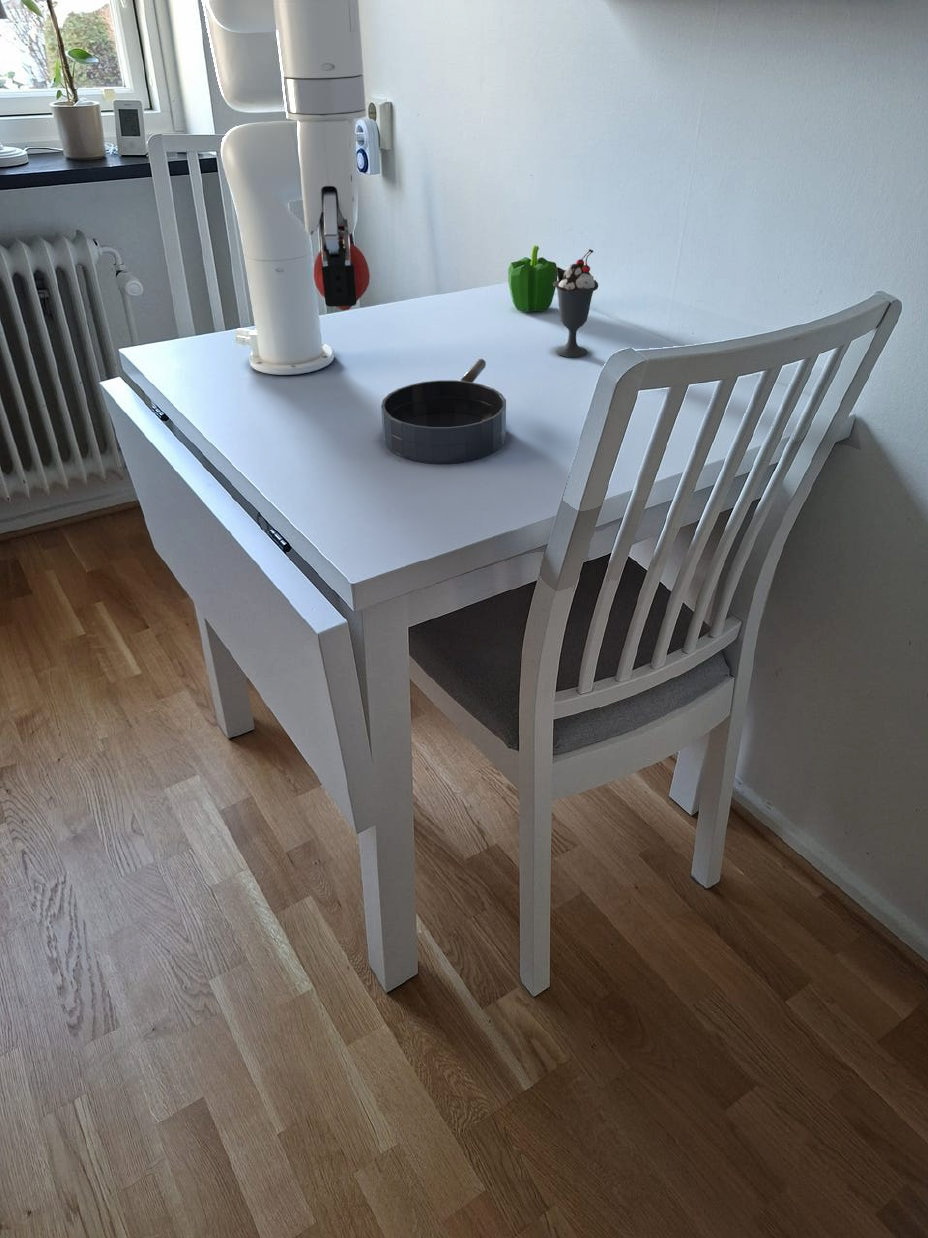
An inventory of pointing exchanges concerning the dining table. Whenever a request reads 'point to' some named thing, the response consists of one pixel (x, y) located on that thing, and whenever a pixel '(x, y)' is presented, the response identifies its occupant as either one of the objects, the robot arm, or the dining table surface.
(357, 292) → the onion
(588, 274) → the sundae
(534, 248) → the bell pepper
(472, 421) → the pan
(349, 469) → the dining table surface
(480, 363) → the pan handle
